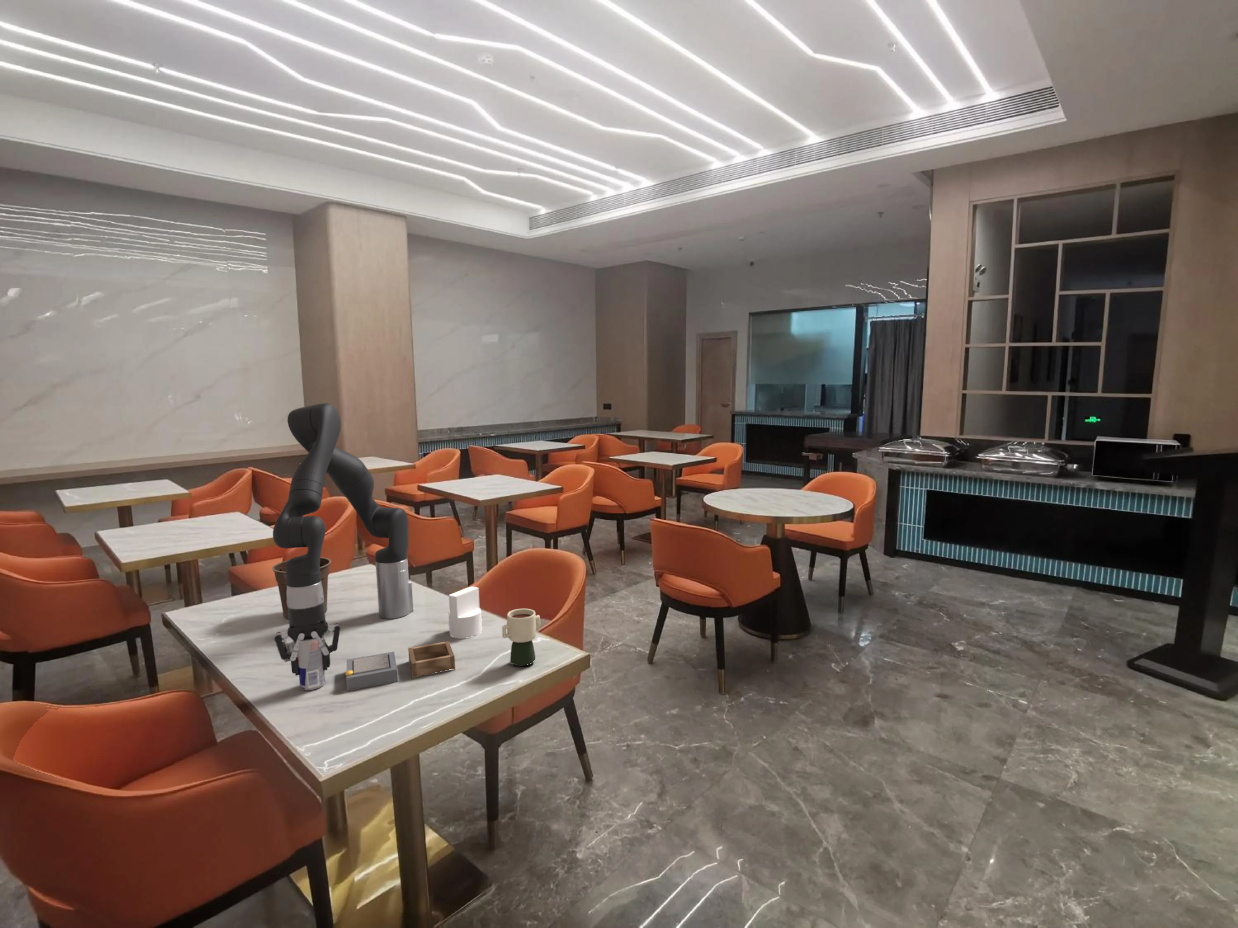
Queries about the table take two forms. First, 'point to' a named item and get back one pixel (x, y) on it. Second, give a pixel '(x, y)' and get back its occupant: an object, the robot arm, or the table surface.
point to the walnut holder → (431, 658)
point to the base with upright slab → (465, 613)
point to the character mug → (521, 635)
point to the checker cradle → (371, 674)
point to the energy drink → (310, 665)
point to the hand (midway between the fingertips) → (311, 671)
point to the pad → (371, 664)
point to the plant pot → (282, 582)
